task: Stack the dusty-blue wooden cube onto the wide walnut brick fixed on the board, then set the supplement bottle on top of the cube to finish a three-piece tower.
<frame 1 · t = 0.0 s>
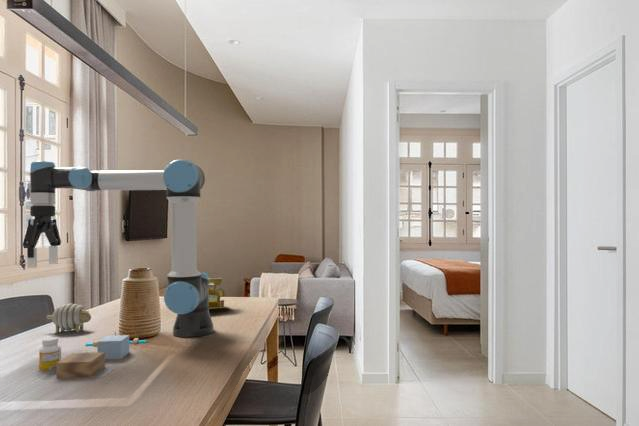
hand: (43, 265, 163), 28 cm above the table, tool pointing down, fingers open, 13 cm apart
board: (81, 377, 128), on the table
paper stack: (204, 311, 220), on the table
base brick: (81, 371, 128), resting on board
toy sheep: (69, 332, 182), on the table
gear mechanism: (117, 345, 164), on the table
blue cube: (113, 360, 143), on the table
supplement bottle: (50, 373, 133), on the table
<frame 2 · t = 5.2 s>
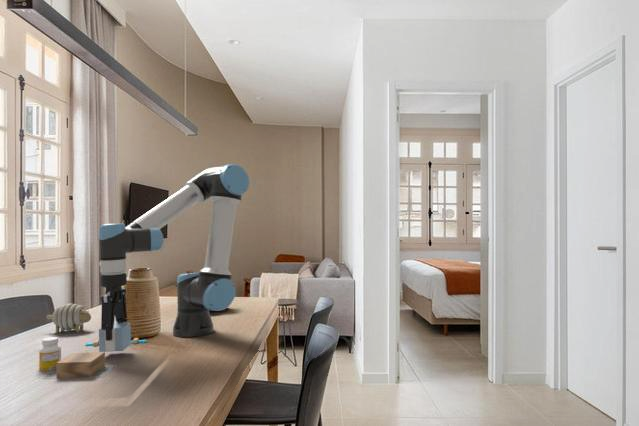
hand: (115, 346, 144), 4 cm above the table, tool pointing down, fingers closed on blue cube, 7 cm apart
blue cube: (115, 348, 144), point 4 cm above the table, touching gripper
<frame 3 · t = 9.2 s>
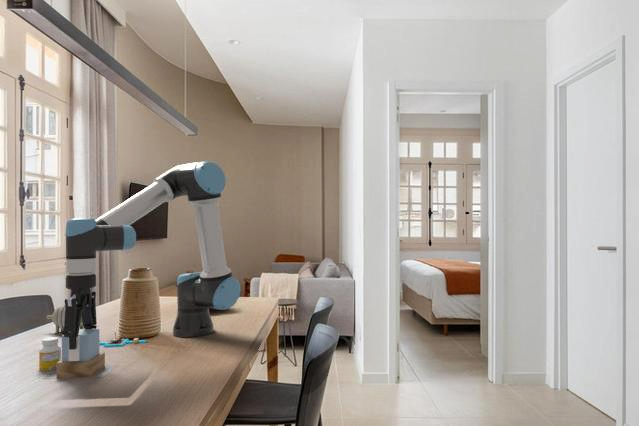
hand: (81, 356, 128), 6 cm above the table, tool pointing down, fingers closed on blue cube, 7 cm apart
blue cube: (81, 357, 128), point 5 cm above the table, touching base brick, gripper
when the fingers open (6 cm above the table, at t = 9.7 s): blue cube stays where it is, resting on base brick.
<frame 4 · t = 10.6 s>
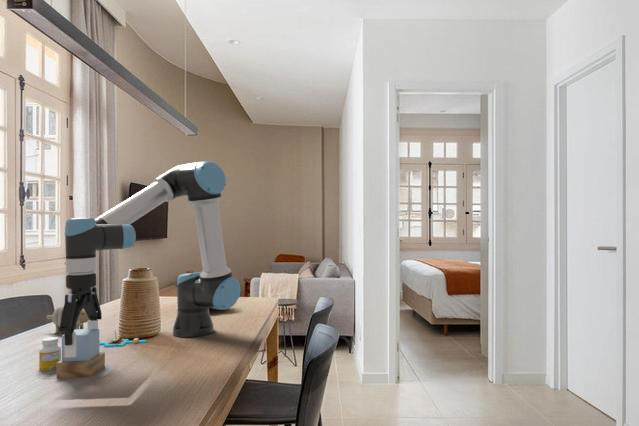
hand: (82, 349, 128), 8 cm above the table, tool pointing down, fingers open, 13 cm apart
blue cube: (81, 357, 128), point 5 cm above the table, touching base brick
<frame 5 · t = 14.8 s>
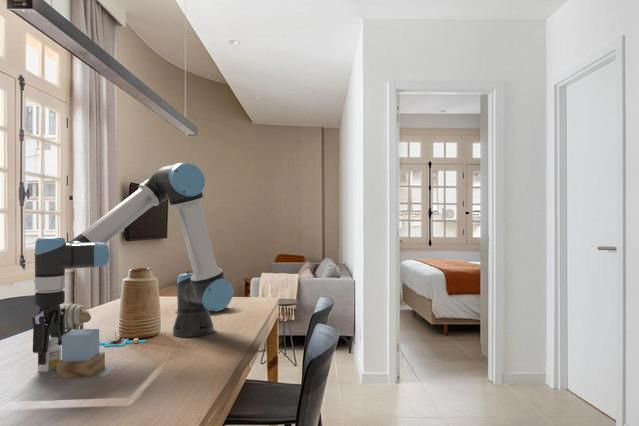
hand: (49, 371, 132), 0 cm above the table, tool pointing down, fingers closed on supplement bottle, 5 cm apart
supplement bottle: (50, 373, 133), on the table, touching gripper
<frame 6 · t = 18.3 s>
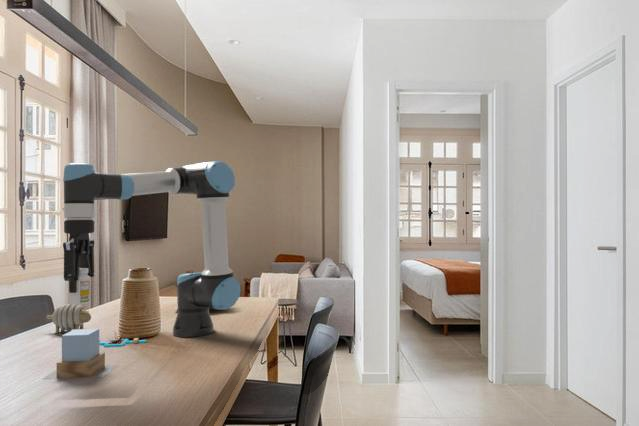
hand: (79, 302, 129), 21 cm above the table, tool pointing down, fingers closed on supplement bottle, 5 cm apart
supplement bottle: (80, 304, 129), point 20 cm above the table, touching gripper
when the fingers open (13 cm above the table, at t = 20.4 s): supplement bottle stays where it is, resting on blue cube.
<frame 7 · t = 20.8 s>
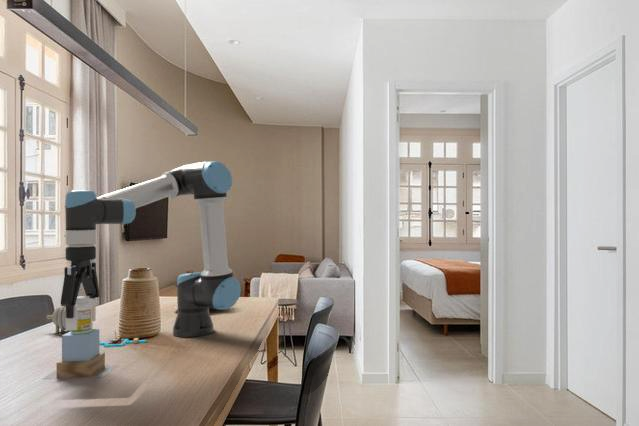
hand: (81, 325, 128), 14 cm above the table, tool pointing down, fingers open, 10 cm apart
blue cube: (81, 357, 128), point 5 cm above the table, touching base brick, supplement bottle
supplement bottle: (81, 332, 128), point 12 cm above the table, touching blue cube
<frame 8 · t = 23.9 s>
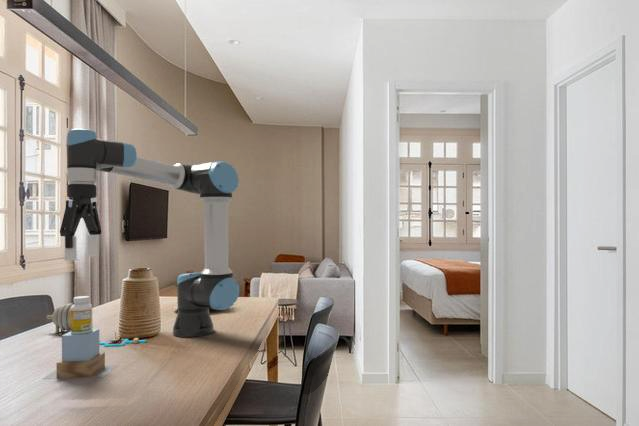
hand: (82, 258, 132), 33 cm above the table, tool pointing down, fingers open, 13 cm apart
at the end: blue cube 0.1 cm off-centre on the base brick, point 4.0 cm above the base brick's base; supplement bottle 0.1 cm from the base brick (horizontally); supplement bottle point 12.3 cm above the table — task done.
